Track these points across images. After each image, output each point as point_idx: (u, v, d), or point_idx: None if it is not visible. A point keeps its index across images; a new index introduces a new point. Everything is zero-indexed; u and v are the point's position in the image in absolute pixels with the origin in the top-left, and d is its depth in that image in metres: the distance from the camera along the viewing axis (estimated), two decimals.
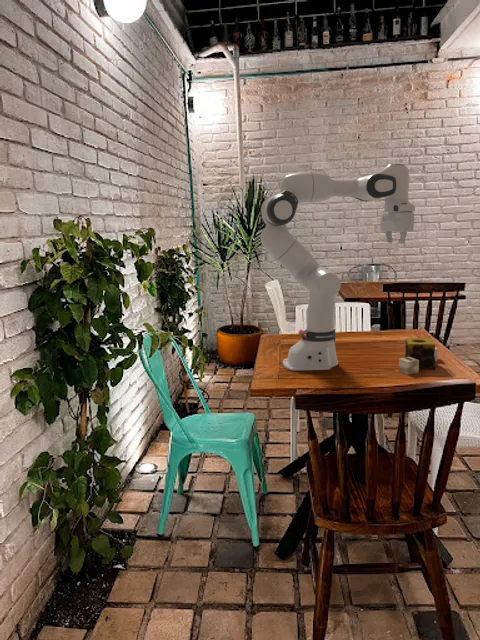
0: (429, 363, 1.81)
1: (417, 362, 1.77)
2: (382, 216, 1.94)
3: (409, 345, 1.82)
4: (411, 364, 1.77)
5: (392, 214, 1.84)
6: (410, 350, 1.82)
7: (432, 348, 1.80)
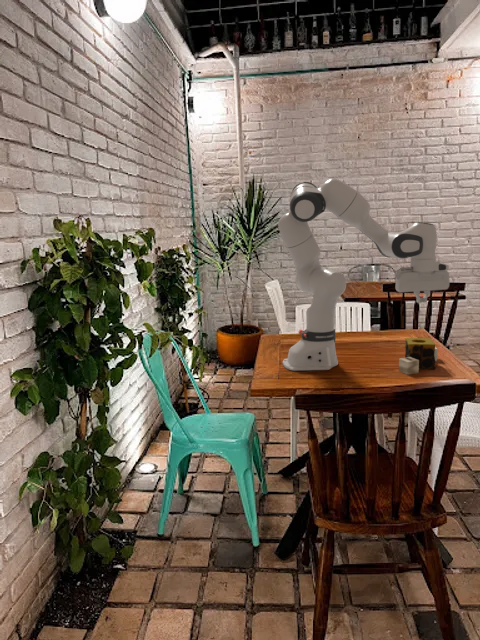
0: (429, 363, 1.81)
1: (417, 362, 1.77)
2: (405, 276, 1.77)
3: (409, 345, 1.82)
4: (411, 364, 1.77)
5: (430, 273, 1.77)
6: (410, 350, 1.82)
7: (432, 348, 1.80)
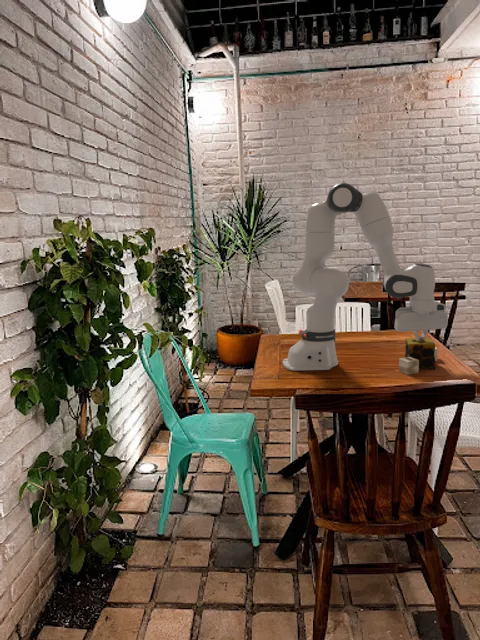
0: (429, 363, 1.81)
1: (417, 362, 1.77)
2: (404, 316, 1.80)
3: (409, 345, 1.82)
4: (411, 364, 1.77)
5: (429, 313, 1.80)
6: (410, 350, 1.82)
7: (432, 348, 1.80)
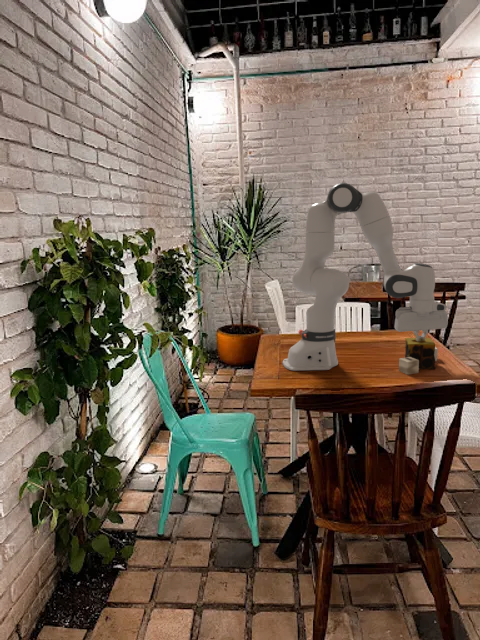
0: (429, 363, 1.81)
1: (417, 362, 1.77)
2: (404, 316, 1.80)
3: (409, 345, 1.82)
4: (411, 364, 1.77)
5: (429, 313, 1.80)
6: (410, 350, 1.82)
7: (432, 348, 1.80)
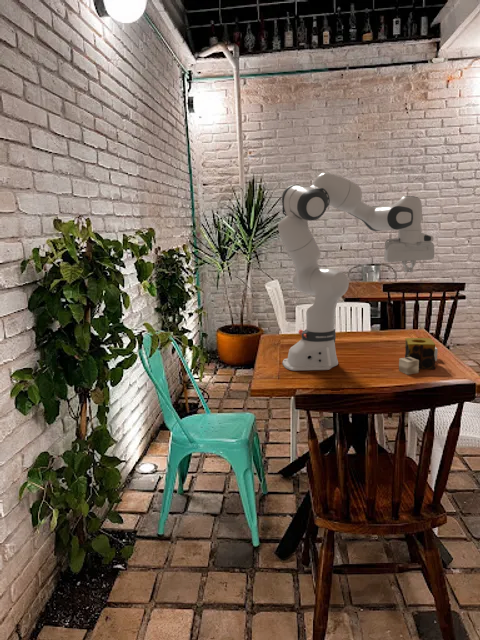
0: (429, 363, 1.81)
1: (417, 362, 1.77)
2: (392, 247, 1.89)
3: (409, 345, 1.82)
4: (411, 364, 1.77)
5: (416, 244, 1.90)
6: (410, 350, 1.82)
7: (432, 348, 1.80)
